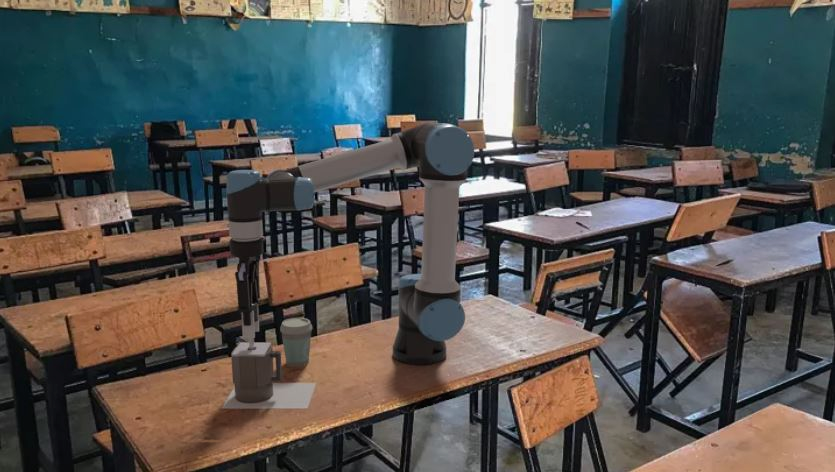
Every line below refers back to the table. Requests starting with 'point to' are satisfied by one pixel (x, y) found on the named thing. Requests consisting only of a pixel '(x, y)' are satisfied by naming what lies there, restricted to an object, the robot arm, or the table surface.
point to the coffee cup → (296, 341)
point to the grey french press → (255, 372)
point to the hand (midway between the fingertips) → (251, 334)
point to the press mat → (278, 397)
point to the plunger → (255, 309)
